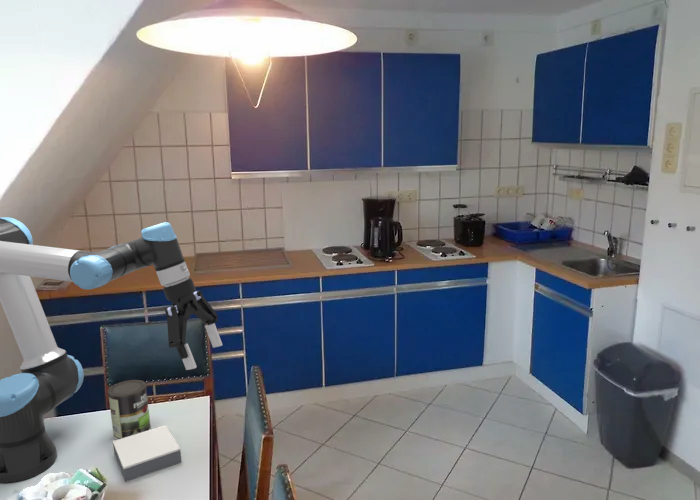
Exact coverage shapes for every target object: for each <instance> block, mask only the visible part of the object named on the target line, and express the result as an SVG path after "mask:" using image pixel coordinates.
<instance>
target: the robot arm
mask: <svg viewBox="0 0 700 500" xmlns="http://www.w3.org/2000/svg"><path fill="white" fill-rule="evenodd" d="M140 235H141V237H139V238H137V239H133V240H130V241H127V242H123V243H120V244H116V245H113V246H111V247H109V248H106V249H103V250H100V251H97V252H95V251H85V250H79V249H71V248H61V247H54V246H45V245H37V244H34V241H33V236H32V232H31V231H30V230H29V228H28V227H27V226H26V225H25V224H24V223H23V222H21V221H19V220H17V219H16V218H13V217H8V216H5V217H3V216H2V217H0V304H1V307H2V308H3V312H4V314H5V316H6V319H7V321H8V324H9V326H10V329H11V330H12V334H13V336H14V339H15V342H16V344H17V345H18V348H19V351H20V354H21V355H22V358H23V361H22V363H21V364H20V366H19V369H20V373H16V374H11V376H6V377H3V378H2V379H0V483H2V484H3V483H4V484H8V483H16V482H20V481H24V480H25V481H26V480H28V479H30V478H34V477H35V476H38V475H39V474H41V473H43V472H45V471H46V470H48V469H49V468H50V467H52V465H53V464H54V463H55V462H56V460H57V459H58V453H57V448H56V446H55V444H54V442H53V440H52V439H51V437H50V435H49V434H48V433H47V431H46V427H45V420H44V419H45V417H44V416H46V414H48V413H49V412H50V411H52V410H53V409H56V407H57V406H59V405H60V404H62V403H63V402H65V401H67V400H68V399H70V398H71V397H73V395H74V394H75V393H77V392H78V391H79V389H80V388H81V386H82V385H83V382H84V378H85V377H84V375H85V374H84V368H83V367H82V364H81V362H80V361H79V360H78V359H75V357H74V356H73V355H71V354H70V355H69V354H67V351H66V350H65V349H63V348H60V347H58V345H57V342H56V339H55V337H54V334H53V332H52V330H51V325H50V324H49V322H48V319H47V316H46V314H45V312H44V309H43V306H42V303H41V301H40V298H39V296H38V293H37V291H36V290H37V289H36V288H35V285H34V283H33V280H32V278H31V277H33V278H41V279H49V280H57V281H65V282H73V284H75V286H78V287H79V288H80V289H82V290H87V291H88V290H93V289H97V288H101V287H103V286H106V284H108V283H110V282H113V281H115V280H117V279H119V278H121V277H123V276H126V275H128V274H131V273H133V272H135V271H138V270H140V269H145V268H146V267H151V266H153V267H154V270H155V272H156V275H157V278H158V282H159V283H160V285H161V286H164V287H163V288H162V291H163V293H164V296H165V299H166V300H167V301H169V302H171V306H170V307H165V309H164V312H165V315H166V321H167V322H166V323H167V339H168V348H170V349H174V348H175V349H176V350H177V352H178V355H179V357H180V358H179V359H181V360H182V362H183V365H184V368H185V370H186V371H188V370H189V371H190V370H194V369H196V368H197V363H196V361H195V358H194V356H193V353H192V351H191V348H190V346H189V343H187V342H186V338H187V337H186V336H187V325H188V321H189V318H190V317H191V316H192V315H195V317H197V318H198V319H200V320H201V321H202V322H203V323H205V325H204V327H205V330H206V334H207V335H208V339H209V340H210V344H211V346H212V348H213V349H214V348H219V347H222V346H223V342H222V340H221V337H220V334H219V331H218V327H217V325H216V323H218V320H219V319H218V317H219V315H218V313H217V312H216V311H215V310H214V308H213V307H212V306H211V304H210V303H209V302H208V300H207V299H206V298H205V296H204V294H203V293H202V292H203V291H202V290H196V286H195V283H194V281H193V278H192V277H190V275H191V273H190V271H189V269H188V266H187V265H188V264H187V263H186V259H185V258H184V255H183V253H182V250H181V247H180V245H179V240H178V239H177V238H178V236H177V235H176V233H175V230H174V229H173V226H172V224H171V223H170V222H167V221H165V222H160V223H158V224H155V225H151V226H149V227H145V228H142V230H141V231H140Z"/></svg>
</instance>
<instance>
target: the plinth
mask: <svg viewBox="0 0 700 500" xmlns="http://www.w3.org/2000/svg"><path fill="white" fill-rule="evenodd" d="M112 445H113V454H114V458H115V460H116V462H117V464H118V467H119V470H120V472H121V475H122V477H123V480H124V481H125V482H129V481H132V480H134V479H138V478H140V477H143V476H145V475H149V474H152V473H154V472H157V471H159V470H160V471H161V470H162V469H166V468H169V467H172V466H174V465H177V464H180V463H182V455H181V454H182V453H181V447H180V446H179V444H178V442H177V441H176V439H175V438H174V436H173V435H172V432H171V431H170V430H169V428H168V426H167V425H166V424H165V425H161V426H158V427H155V428H151V430H148V431H144V432H141V433H138V434H135V435H131V436H128V437H125V438H122V439H119V440H116V439H114V440H113V441H112Z"/></svg>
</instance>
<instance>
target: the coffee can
mask: <svg viewBox="0 0 700 500" xmlns="http://www.w3.org/2000/svg"><path fill="white" fill-rule="evenodd" d="M107 396H108V403H109V409H110V418H111V425H112V433H113V434H112V435H113V439H114V440H119V439H122V438H125V437H128V436H131V435H135V434H138V433H141V432H144V431H148V430H151V429H152V426H151V419H150V411H149V410H150V409H149V403H148V392H147V383H146V381H144V380H140V379H130V380H129V379H128V380H124V381H120V382H118V383H115V384H113V385H112V386H110V387H109V388H108V389H107Z"/></svg>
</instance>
